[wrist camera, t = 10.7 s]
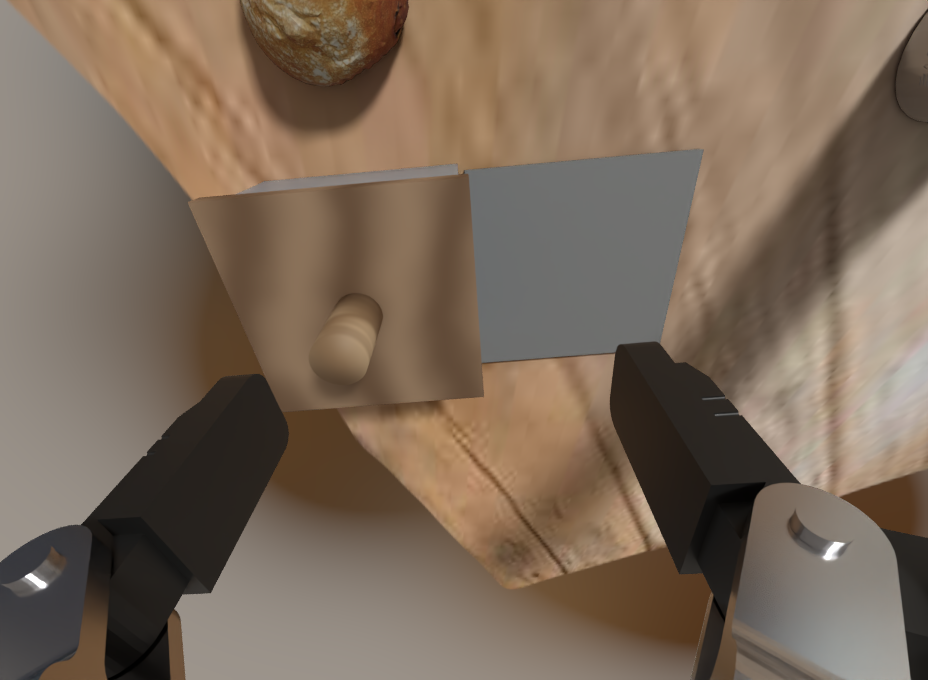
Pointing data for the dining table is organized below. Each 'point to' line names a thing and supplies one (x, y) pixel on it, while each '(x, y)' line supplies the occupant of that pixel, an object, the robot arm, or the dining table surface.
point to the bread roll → (325, 35)
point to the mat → (578, 252)
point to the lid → (353, 289)
